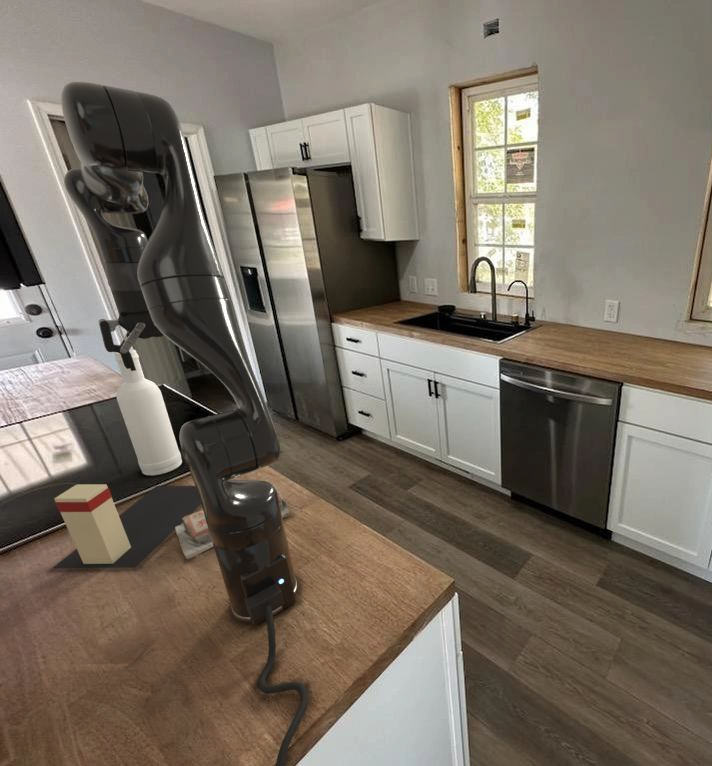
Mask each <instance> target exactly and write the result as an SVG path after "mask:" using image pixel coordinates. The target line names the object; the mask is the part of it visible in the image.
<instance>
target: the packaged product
mask: <svg viewBox="0 0 712 766" xmlns="http://www.w3.org/2000/svg"><path fill="white" fill-rule="evenodd" d="M271 484H272V483H271ZM272 485H273V486H274V487H275V489H276V491H277V494H278V499H279V504H280V508H281V513H282V518H283V519H284V518H286V517H289V516H291V513H292V512H291V511H290V510H289V508H288V507H287V502H286V499H285V498H284V495H283V494H282V493H281V492H280V491H279V490H278V488H277V487H276V485H275V484H272ZM182 522H183V523H181V524H180V525H179V526H176V527H175V533H176V536H177V537H178V541H179V545H180V548H181V551H182V553H183V555H184V557H185V558H186V560H189V559H192V558H194V557H196V556H198V555H201V554H202V553H203V552H206V551H208V550H209V549H212V548H214V546H213V543H212V539H211V536H210V532H209V529H208V526H207V523H206V519H205V515H204V512H203V509H201V510H199V511H196V512H195V511H194V512H193V513H192V514H190V515H187V516H185V517H184V518H182Z"/></svg>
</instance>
